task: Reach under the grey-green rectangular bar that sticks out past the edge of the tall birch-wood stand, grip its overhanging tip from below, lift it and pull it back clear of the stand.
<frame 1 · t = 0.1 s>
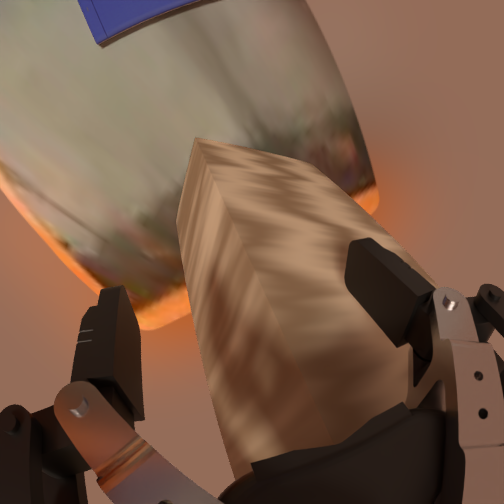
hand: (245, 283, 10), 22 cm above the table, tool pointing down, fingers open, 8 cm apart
stand: (244, 190, 33), on the table
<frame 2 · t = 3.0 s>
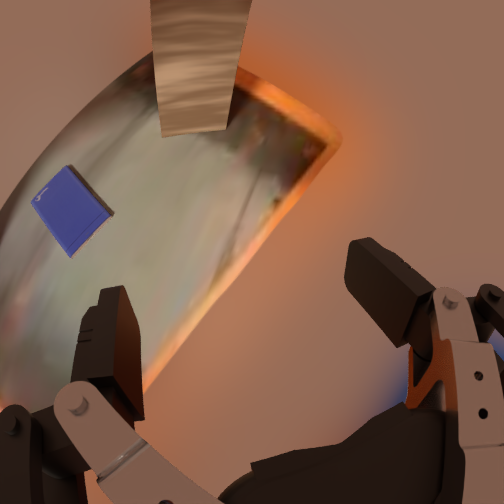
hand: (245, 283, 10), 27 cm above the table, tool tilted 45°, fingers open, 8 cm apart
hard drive: (70, 212, 36), on the table
stand: (189, 102, 43), on the table
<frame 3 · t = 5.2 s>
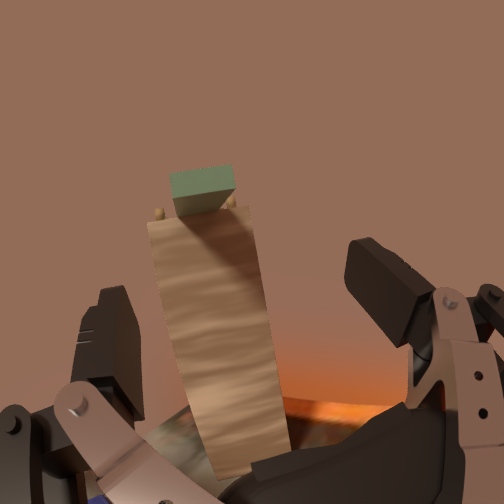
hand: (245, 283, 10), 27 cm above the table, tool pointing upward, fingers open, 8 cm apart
stand: (244, 442, 36), on the table
grey-green rectangular bar: (197, 214, 28), point 32 cm above the table, touching stand
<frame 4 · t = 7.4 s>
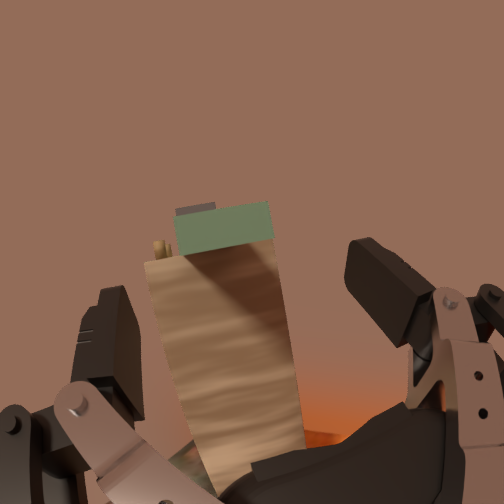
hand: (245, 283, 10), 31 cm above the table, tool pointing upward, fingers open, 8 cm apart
stand: (259, 483, 30), on the table
grey-green rectangular bar: (207, 250, 23), point 32 cm above the table, touching stand
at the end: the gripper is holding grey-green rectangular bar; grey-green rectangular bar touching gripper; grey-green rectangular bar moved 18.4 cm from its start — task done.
